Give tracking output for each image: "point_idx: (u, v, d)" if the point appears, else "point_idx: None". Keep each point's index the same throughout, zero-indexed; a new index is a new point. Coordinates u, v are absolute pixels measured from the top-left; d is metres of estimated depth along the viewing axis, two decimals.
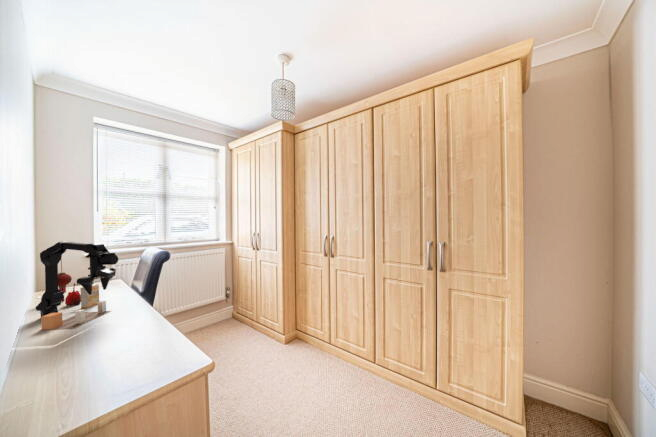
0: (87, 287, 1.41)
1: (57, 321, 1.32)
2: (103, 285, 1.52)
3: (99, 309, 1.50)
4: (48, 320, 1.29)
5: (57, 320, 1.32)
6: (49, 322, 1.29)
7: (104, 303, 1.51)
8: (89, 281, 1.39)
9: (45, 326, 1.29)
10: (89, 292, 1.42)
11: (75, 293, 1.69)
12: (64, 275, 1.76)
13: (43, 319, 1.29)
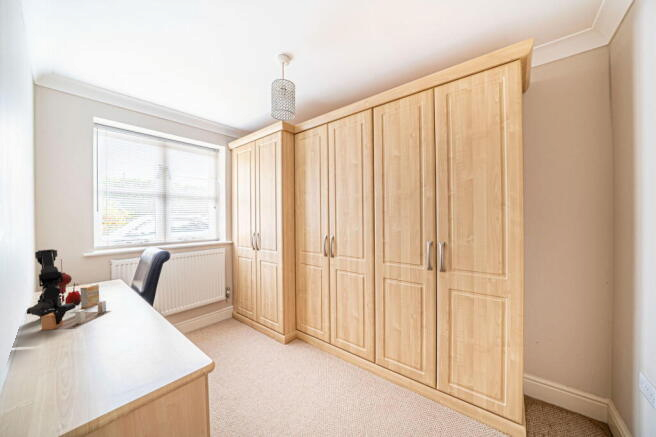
0: None
1: None
2: None
3: (99, 309, 1.50)
4: (48, 320, 1.29)
5: None
6: (49, 322, 1.29)
7: (104, 303, 1.51)
8: (28, 312, 1.28)
9: (45, 326, 1.29)
10: None
11: (75, 293, 1.69)
12: (64, 275, 1.76)
13: (43, 319, 1.29)
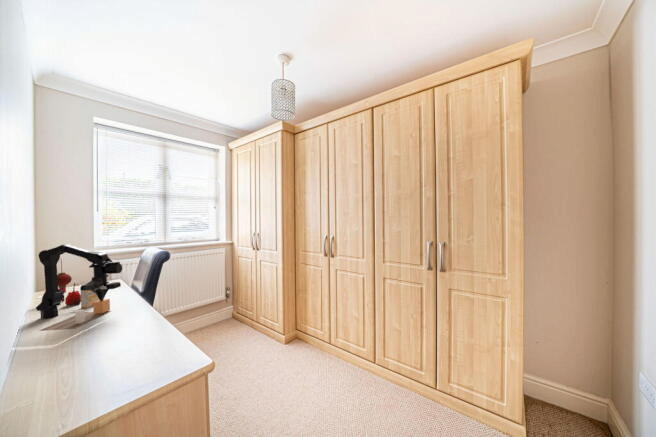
0: None
1: (106, 306, 1.51)
2: None
3: None
4: (99, 305, 1.48)
5: (106, 306, 1.51)
6: (100, 307, 1.48)
7: None
8: (81, 289, 1.47)
9: (96, 310, 1.48)
10: None
11: (75, 293, 1.69)
12: (64, 275, 1.76)
13: (95, 304, 1.48)
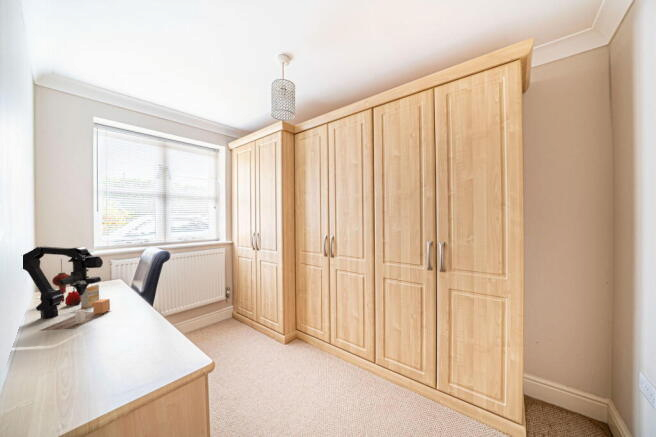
0: None
1: (106, 306, 1.51)
2: None
3: None
4: (99, 305, 1.48)
5: (106, 306, 1.51)
6: (100, 307, 1.48)
7: None
8: (60, 283, 1.46)
9: (96, 310, 1.48)
10: None
11: (75, 293, 1.69)
12: (64, 275, 1.76)
13: (95, 304, 1.48)
